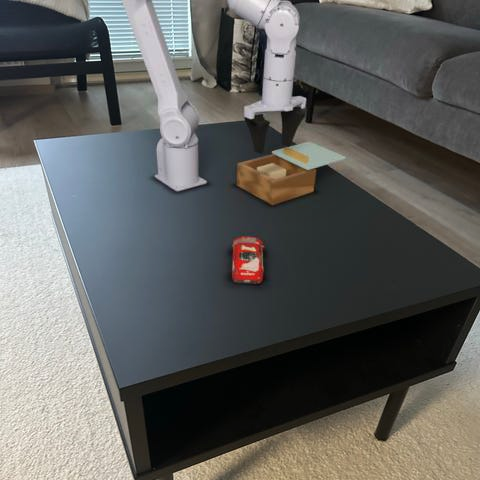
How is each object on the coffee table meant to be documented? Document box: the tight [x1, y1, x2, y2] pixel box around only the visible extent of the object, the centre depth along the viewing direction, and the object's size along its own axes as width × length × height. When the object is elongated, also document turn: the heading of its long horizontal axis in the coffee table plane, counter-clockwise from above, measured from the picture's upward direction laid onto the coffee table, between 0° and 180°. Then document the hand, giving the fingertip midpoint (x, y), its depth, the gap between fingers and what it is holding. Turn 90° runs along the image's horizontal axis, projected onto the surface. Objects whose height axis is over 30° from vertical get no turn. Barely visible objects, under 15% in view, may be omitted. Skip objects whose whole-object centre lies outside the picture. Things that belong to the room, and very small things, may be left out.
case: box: [236, 153, 317, 206], centre depth 108 cm, size 12×12×5 cm
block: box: [257, 163, 286, 180], centre depth 107 cm, size 4×4×4 cm
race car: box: [231, 235, 265, 285], centre depth 84 cm, size 13×5×4 cm, turn 178°
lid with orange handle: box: [271, 141, 347, 170], centre depth 111 cm, size 12×12×2 cm
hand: (272, 148), depth 104 cm, fingers open, 7 cm apart
